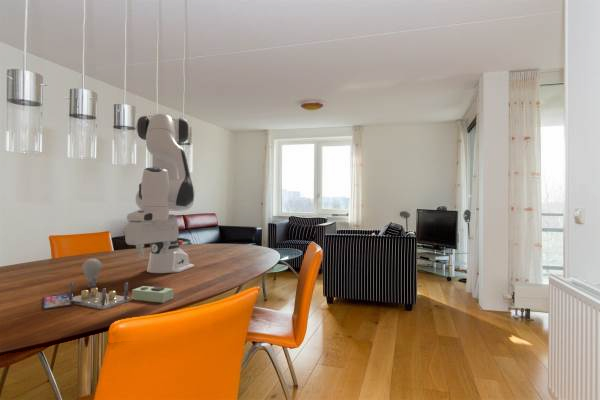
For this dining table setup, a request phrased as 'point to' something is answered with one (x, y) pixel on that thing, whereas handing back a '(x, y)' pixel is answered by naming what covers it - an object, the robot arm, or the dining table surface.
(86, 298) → the chassis
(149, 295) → the green block with holes
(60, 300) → the smartphone
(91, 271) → the lightbulb
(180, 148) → the robot arm
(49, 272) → the dining table surface
